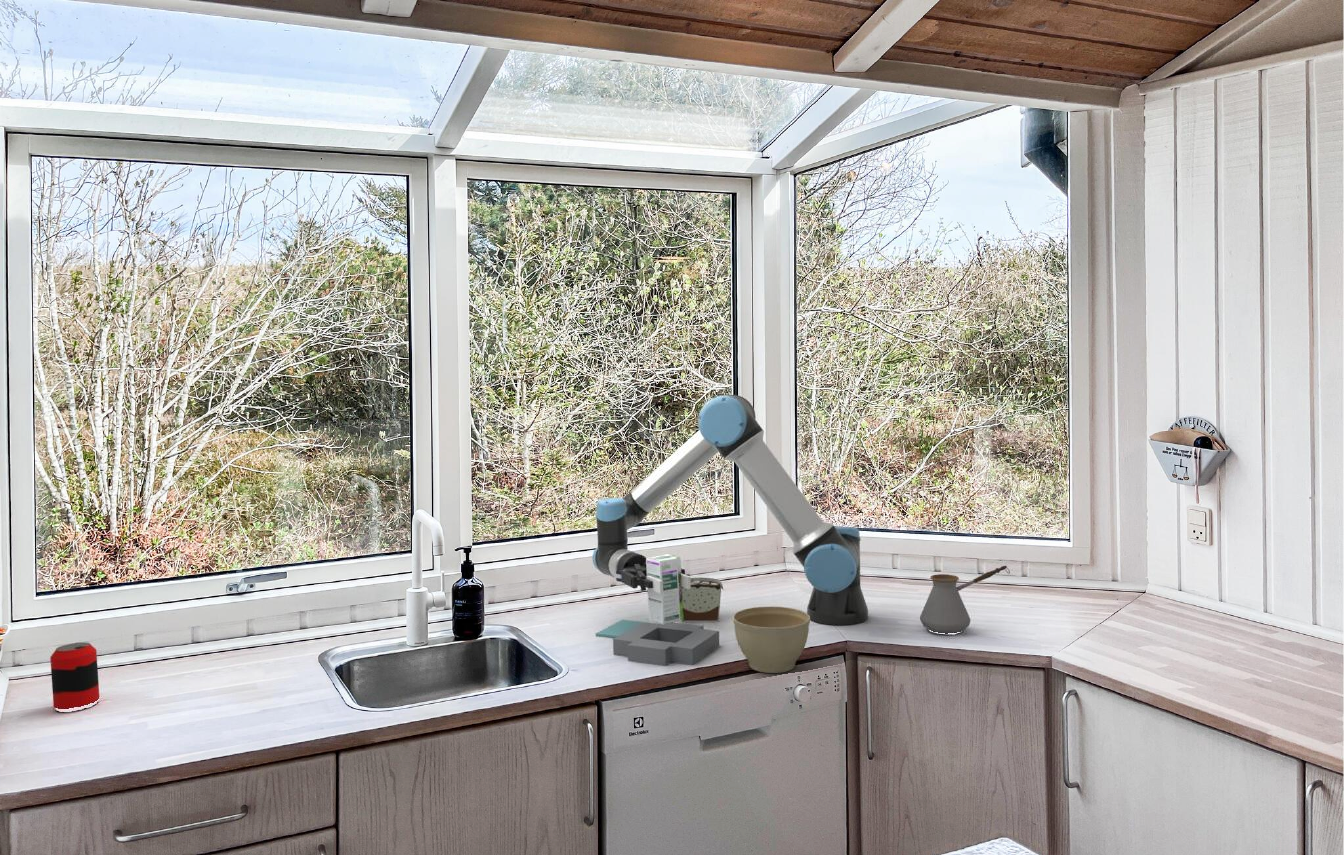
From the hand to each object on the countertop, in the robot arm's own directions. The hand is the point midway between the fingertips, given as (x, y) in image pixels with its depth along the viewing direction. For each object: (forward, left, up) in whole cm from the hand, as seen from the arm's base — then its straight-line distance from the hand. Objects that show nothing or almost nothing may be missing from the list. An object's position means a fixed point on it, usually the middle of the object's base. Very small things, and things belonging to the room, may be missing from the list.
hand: (675, 584), depth 196 cm
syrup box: (+4, -3, -9) cm, 11 cm away
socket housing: (+4, -3, -16) cm, 17 cm away
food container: (+8, -30, -16) cm, 35 cm away
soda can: (+97, +72, -16) cm, 122 cm away
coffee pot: (-55, -43, -16) cm, 72 cm away
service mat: (+19, -13, -16) cm, 28 cm away
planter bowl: (-22, -1, -16) cm, 27 cm away
